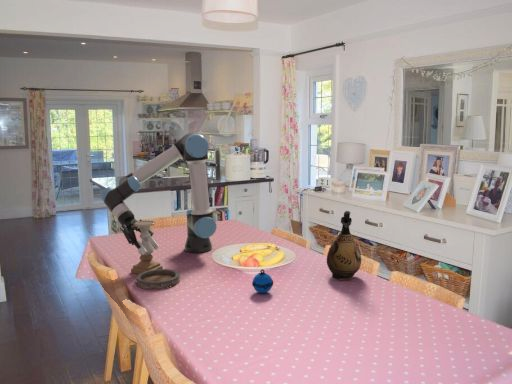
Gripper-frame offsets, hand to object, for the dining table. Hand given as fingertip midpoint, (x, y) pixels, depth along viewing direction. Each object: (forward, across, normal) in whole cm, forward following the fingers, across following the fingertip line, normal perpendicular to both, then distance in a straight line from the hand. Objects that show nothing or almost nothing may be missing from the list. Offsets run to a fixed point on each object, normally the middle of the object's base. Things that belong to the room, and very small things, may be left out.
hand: (151, 250), depth 222 cm
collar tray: (+16, +10, +1) cm, 19 cm away
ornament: (+50, +2, +35) cm, 61 cm away
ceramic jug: (+67, -32, +52) cm, 91 cm away
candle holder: (+5, 0, -10) cm, 11 cm away
